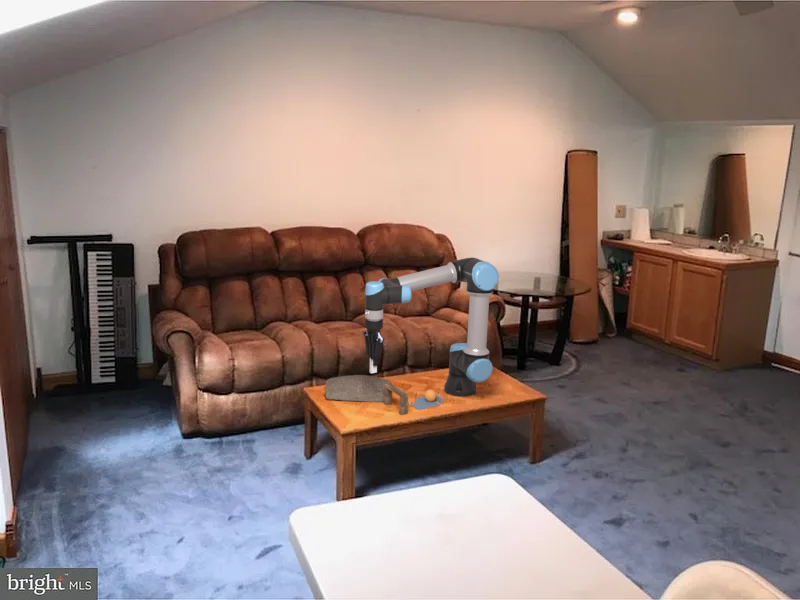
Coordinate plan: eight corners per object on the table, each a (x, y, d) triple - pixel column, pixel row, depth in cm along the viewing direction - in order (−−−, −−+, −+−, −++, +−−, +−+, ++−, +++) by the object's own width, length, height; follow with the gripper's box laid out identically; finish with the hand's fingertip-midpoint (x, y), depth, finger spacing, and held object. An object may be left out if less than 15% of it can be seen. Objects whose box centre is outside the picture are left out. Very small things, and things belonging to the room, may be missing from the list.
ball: (433, 395, 311) (430, 385, 309) (440, 399, 306) (437, 389, 304) (423, 401, 309) (420, 391, 306) (430, 405, 304) (427, 395, 302)
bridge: (389, 402, 304) (390, 383, 302) (407, 413, 292) (408, 393, 290) (383, 403, 302) (384, 384, 300) (401, 415, 290) (402, 394, 288)
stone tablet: (324, 402, 302) (391, 403, 303) (324, 385, 301) (391, 386, 301) (327, 387, 322) (391, 388, 323) (327, 370, 320) (391, 371, 321)
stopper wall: (430, 396, 313) (431, 391, 313) (443, 403, 305) (444, 398, 305) (428, 396, 313) (428, 391, 312) (441, 403, 305) (441, 398, 304)
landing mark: (424, 396, 313) (424, 396, 313) (440, 405, 303) (440, 404, 303) (403, 401, 306) (403, 400, 306) (418, 410, 297) (418, 409, 296)
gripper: (358, 316, 286) (357, 369, 292) (374, 323, 276) (373, 378, 281) (373, 314, 290) (372, 366, 296) (390, 321, 280) (389, 375, 285)
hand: (373, 372), depth 288 cm, fingers closed
